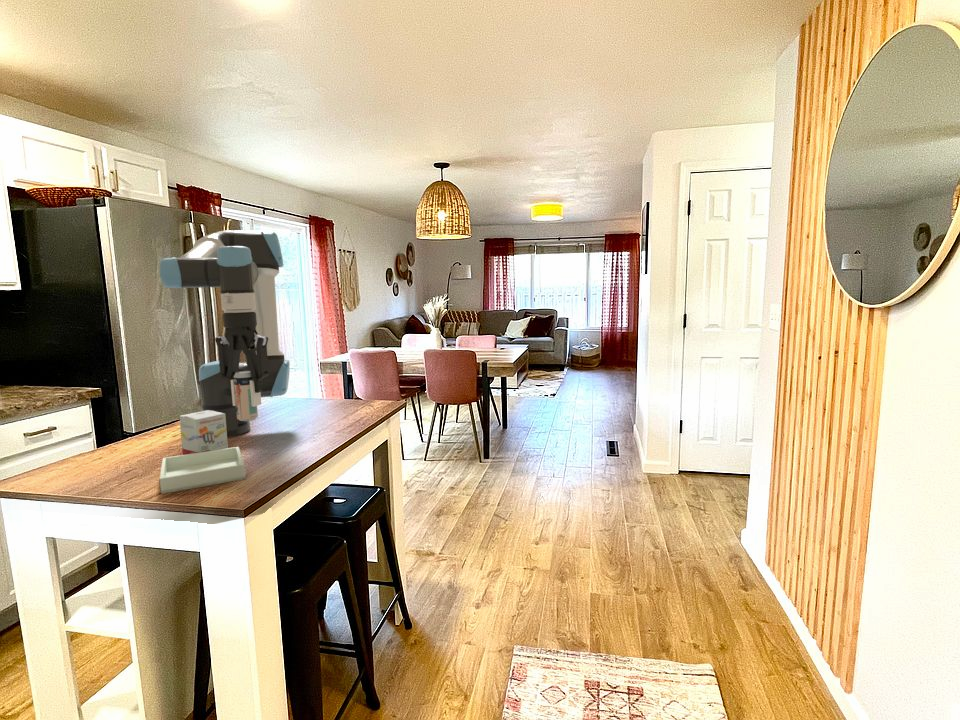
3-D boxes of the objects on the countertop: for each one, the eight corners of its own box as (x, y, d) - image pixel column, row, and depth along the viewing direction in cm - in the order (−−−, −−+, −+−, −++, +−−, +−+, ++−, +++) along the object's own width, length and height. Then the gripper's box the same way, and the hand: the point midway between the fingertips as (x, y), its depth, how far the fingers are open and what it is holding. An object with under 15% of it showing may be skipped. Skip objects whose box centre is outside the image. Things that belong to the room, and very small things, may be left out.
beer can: (240, 417, 133) (236, 371, 131) (260, 416, 134) (256, 370, 132) (234, 422, 128) (230, 373, 127) (255, 421, 129) (251, 373, 127)
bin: (164, 471, 132) (162, 457, 132) (239, 459, 141) (238, 446, 140) (161, 493, 117) (159, 478, 117) (245, 478, 125) (244, 464, 125)
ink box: (199, 462, 139) (195, 418, 137) (182, 457, 144) (177, 415, 142) (229, 453, 146) (226, 411, 145) (212, 448, 151) (208, 408, 149)
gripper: (196, 312, 126) (206, 407, 129) (260, 311, 122) (268, 409, 125) (219, 310, 133) (227, 400, 136) (280, 310, 129) (287, 402, 132)
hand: (247, 404), depth 131 cm, fingers closed on beer can, 5 cm apart
